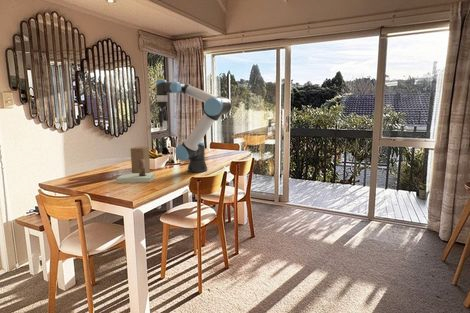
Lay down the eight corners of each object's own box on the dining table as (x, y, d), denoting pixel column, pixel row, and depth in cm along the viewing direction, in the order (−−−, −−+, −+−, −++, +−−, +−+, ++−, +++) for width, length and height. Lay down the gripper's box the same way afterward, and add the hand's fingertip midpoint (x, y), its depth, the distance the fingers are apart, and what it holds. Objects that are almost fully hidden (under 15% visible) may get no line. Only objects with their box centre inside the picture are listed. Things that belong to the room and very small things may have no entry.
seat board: (155, 177, 212) (155, 172, 211) (150, 182, 198) (149, 177, 198) (124, 177, 212) (123, 173, 211) (116, 182, 198) (116, 178, 197)
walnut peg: (146, 178, 207) (145, 159, 205) (144, 180, 203) (143, 160, 200) (140, 179, 207) (139, 159, 204) (138, 180, 203) (137, 160, 200)
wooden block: (144, 175, 217) (142, 148, 213) (131, 175, 219) (129, 148, 215) (150, 172, 226) (149, 146, 223) (138, 171, 228) (136, 146, 225)
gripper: (160, 101, 231) (162, 128, 235) (152, 101, 207) (154, 131, 211) (170, 101, 232) (171, 128, 235) (163, 101, 207) (165, 131, 211)
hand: (163, 130), depth 223 cm, fingers open, 13 cm apart
